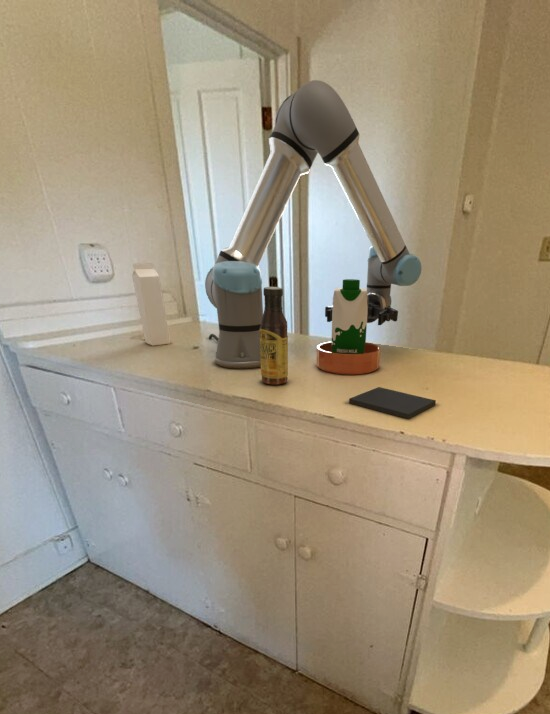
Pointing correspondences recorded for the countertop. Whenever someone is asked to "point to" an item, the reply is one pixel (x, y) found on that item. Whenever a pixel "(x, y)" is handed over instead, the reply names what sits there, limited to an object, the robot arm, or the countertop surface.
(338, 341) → the drink carton
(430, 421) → the countertop surface
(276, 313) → the sauce bottle
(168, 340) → the milk
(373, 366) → the bowl
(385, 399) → the mat
